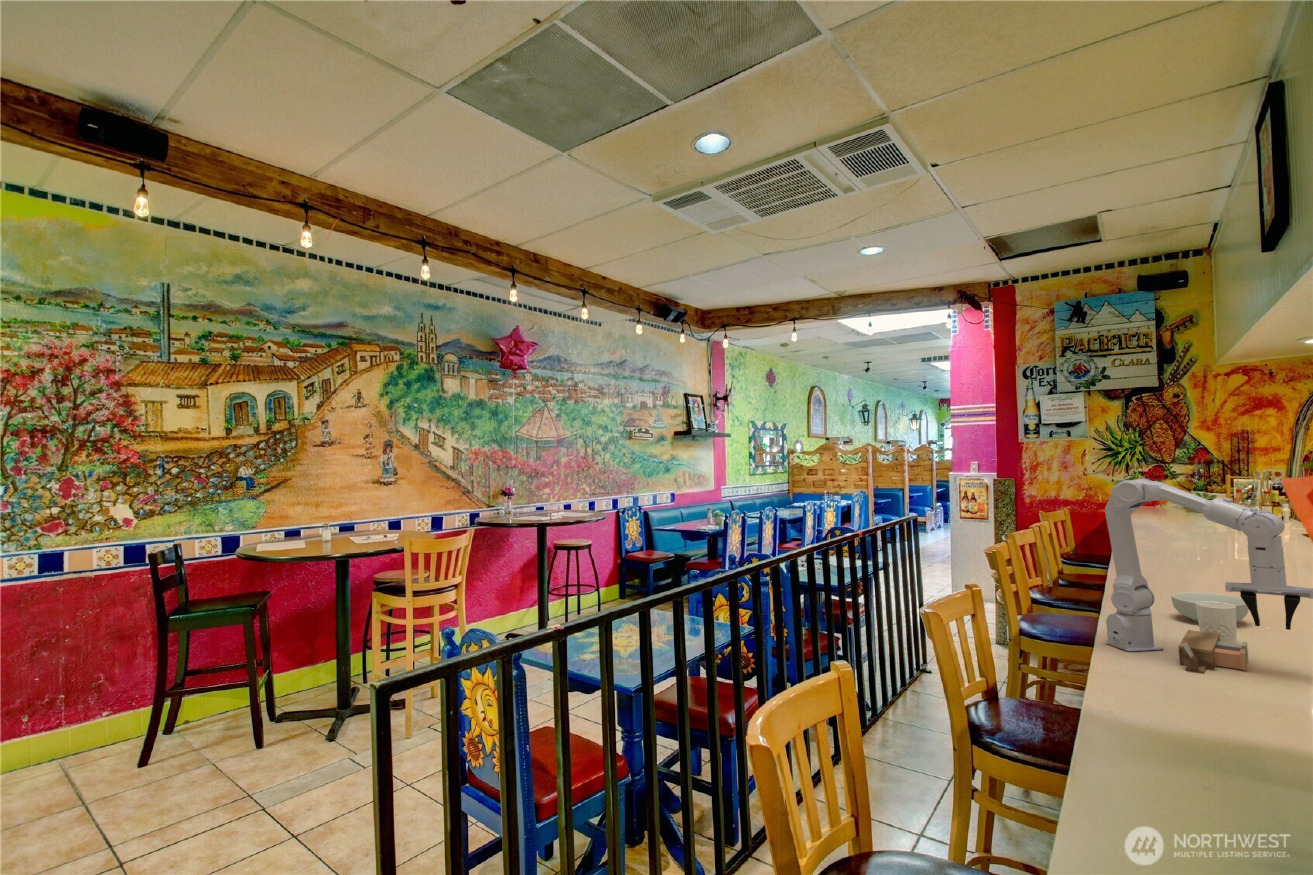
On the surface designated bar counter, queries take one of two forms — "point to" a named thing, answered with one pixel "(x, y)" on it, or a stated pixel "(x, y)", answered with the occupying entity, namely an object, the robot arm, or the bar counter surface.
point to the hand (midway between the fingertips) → (1272, 627)
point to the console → (1199, 650)
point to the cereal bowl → (1187, 600)
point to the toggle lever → (1189, 651)
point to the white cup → (1218, 619)
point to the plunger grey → (1233, 647)
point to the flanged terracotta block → (1230, 658)
